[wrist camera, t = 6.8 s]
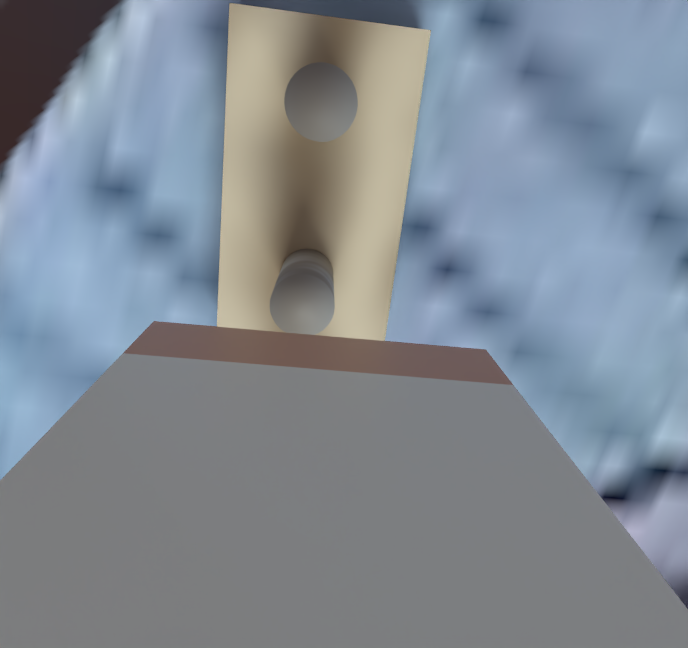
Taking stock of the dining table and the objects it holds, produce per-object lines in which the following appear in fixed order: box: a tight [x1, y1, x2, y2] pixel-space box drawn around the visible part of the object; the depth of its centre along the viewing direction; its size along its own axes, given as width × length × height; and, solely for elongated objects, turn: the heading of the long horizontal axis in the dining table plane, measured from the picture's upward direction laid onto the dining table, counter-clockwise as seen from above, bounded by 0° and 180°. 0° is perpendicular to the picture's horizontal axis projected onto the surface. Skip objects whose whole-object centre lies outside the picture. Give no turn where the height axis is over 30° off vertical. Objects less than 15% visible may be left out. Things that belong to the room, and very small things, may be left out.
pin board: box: [217, 3, 431, 341], centre depth 22 cm, size 8×14×7 cm, turn 173°
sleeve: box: [0, 321, 688, 648], centre depth 7 cm, size 6×6×7 cm
